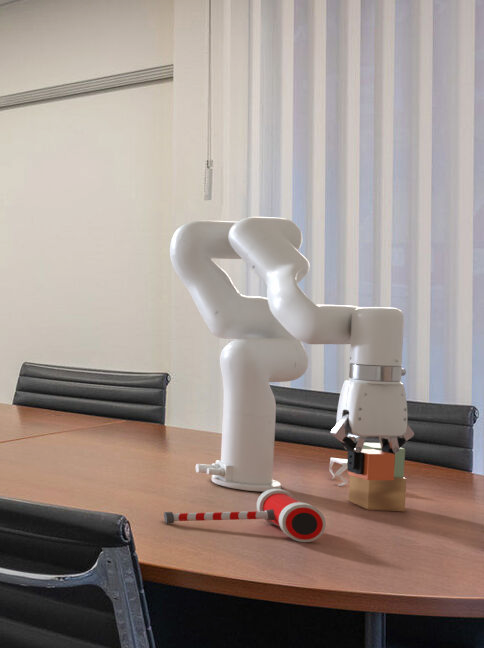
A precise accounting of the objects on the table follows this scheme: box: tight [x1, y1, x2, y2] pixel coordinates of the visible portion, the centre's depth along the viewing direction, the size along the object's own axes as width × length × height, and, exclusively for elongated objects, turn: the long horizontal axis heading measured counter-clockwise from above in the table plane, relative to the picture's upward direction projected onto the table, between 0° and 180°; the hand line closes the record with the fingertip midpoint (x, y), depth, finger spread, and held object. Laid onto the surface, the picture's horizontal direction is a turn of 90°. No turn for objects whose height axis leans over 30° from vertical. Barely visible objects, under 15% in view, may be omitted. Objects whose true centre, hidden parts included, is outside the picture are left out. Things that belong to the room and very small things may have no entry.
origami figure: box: [328, 457, 349, 487], centre depth 181 cm, size 12×8×5 cm
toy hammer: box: [163, 488, 327, 543], centre depth 148 cm, size 23×12×6 cm, turn 77°
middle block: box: [362, 442, 406, 478], centre depth 164 cm, size 6×6×6 cm
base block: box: [348, 475, 407, 512], centre depth 165 cm, size 6×6×6 cm
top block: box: [347, 449, 395, 480], centre depth 155 cm, size 5×5×5 cm
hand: (370, 471), depth 155 cm, fingers closed on top block, 4 cm apart
